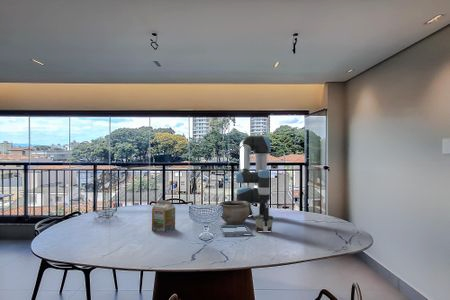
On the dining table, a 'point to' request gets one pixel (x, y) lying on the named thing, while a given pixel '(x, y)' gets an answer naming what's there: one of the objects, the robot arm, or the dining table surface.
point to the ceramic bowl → (235, 211)
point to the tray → (235, 231)
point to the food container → (259, 222)
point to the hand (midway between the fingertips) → (263, 229)
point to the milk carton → (163, 216)
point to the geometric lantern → (105, 193)
